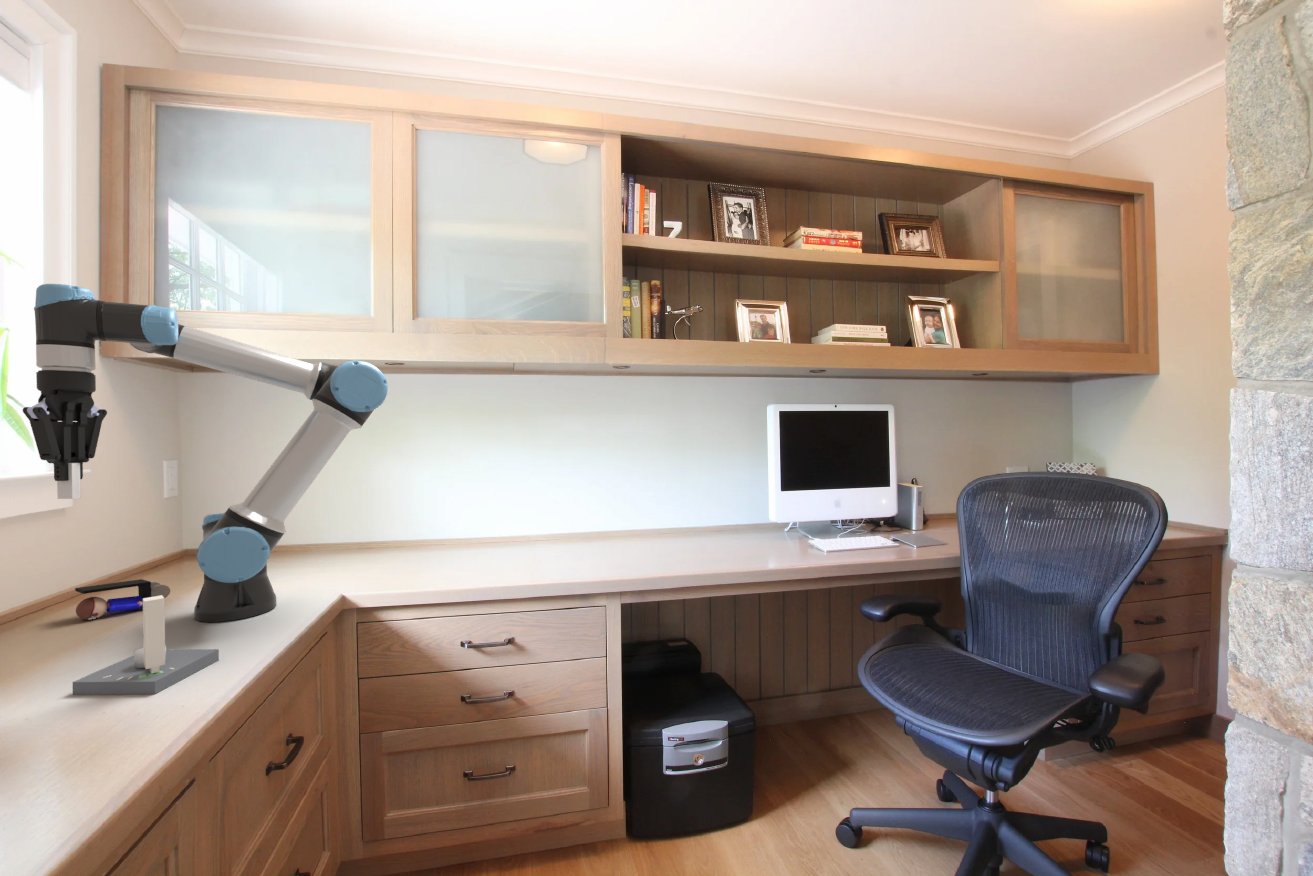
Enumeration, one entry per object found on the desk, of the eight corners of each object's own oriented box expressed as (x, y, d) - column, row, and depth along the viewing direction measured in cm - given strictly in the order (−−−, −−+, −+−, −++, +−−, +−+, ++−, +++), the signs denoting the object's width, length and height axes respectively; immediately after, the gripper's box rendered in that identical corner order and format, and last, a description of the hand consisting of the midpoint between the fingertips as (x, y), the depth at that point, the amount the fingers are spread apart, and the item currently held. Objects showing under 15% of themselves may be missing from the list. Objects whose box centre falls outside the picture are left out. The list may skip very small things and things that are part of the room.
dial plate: (146, 660, 102) (146, 649, 102) (218, 660, 102) (218, 648, 102) (72, 694, 89) (72, 681, 89) (155, 694, 89) (155, 680, 89)
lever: (133, 663, 95) (131, 593, 95) (164, 656, 98) (163, 588, 98) (139, 677, 90) (137, 602, 89) (171, 669, 93) (170, 597, 92)
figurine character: (156, 608, 137) (69, 619, 124) (160, 576, 137) (74, 583, 124) (168, 612, 133) (79, 624, 120) (172, 579, 134) (84, 588, 121)
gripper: (82, 374, 110) (84, 494, 110) (5, 366, 97) (8, 503, 97) (120, 374, 110) (122, 494, 110) (49, 366, 97) (51, 502, 97)
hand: (69, 498), depth 103 cm, fingers closed
